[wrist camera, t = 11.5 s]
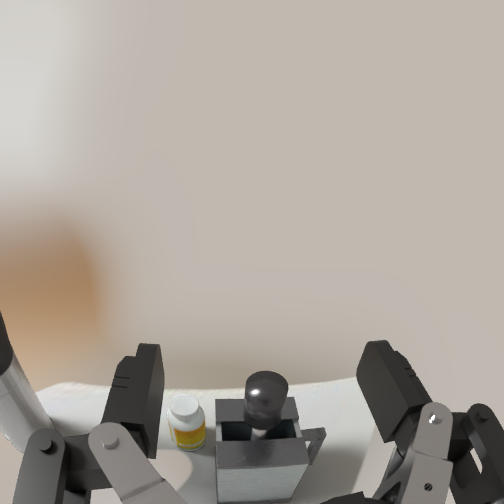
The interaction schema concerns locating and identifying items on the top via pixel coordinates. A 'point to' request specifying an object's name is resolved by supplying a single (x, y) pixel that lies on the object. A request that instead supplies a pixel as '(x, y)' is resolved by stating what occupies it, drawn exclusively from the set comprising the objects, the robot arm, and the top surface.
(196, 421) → the supplement bottle
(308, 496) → the top surface
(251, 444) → the grey box
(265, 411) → the dark grey knob handle
